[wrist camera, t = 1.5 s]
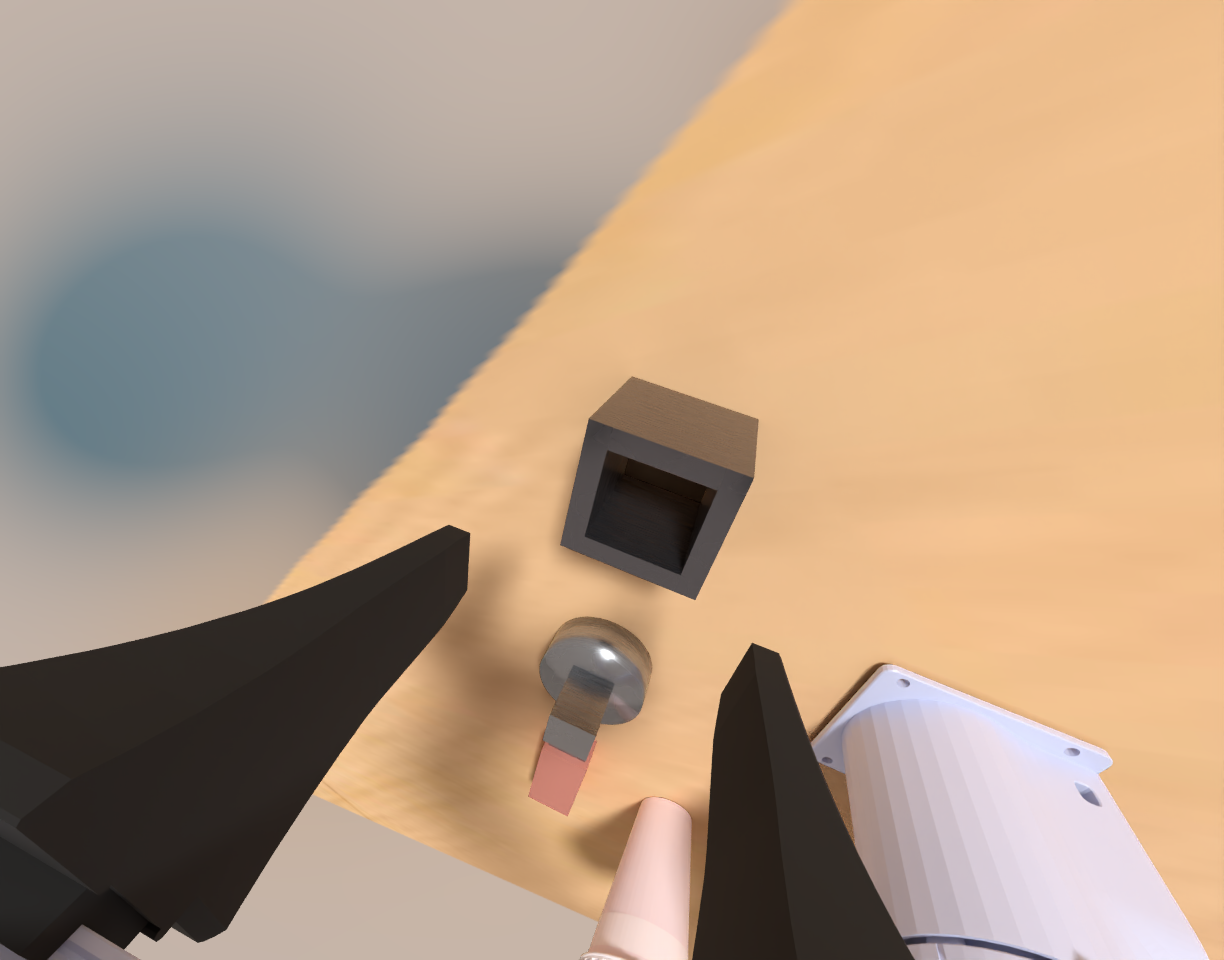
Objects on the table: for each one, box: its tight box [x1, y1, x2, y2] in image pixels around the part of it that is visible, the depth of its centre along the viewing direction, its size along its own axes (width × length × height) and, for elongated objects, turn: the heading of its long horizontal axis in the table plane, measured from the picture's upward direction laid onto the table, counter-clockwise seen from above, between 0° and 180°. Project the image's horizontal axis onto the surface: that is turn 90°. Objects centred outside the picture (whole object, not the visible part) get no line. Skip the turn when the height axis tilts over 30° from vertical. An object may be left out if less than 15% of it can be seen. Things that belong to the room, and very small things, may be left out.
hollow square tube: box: [560, 377, 758, 600], centre depth 17 cm, size 5×5×5 cm
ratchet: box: [528, 617, 652, 816], centre depth 27 cm, size 18×6×5 cm, turn 166°
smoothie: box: [580, 797, 692, 960], centre depth 26 cm, size 6×6×14 cm
